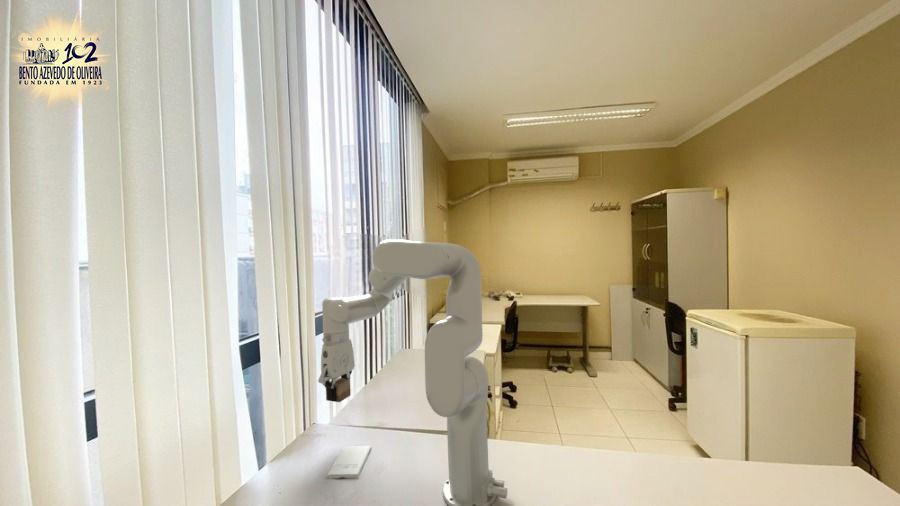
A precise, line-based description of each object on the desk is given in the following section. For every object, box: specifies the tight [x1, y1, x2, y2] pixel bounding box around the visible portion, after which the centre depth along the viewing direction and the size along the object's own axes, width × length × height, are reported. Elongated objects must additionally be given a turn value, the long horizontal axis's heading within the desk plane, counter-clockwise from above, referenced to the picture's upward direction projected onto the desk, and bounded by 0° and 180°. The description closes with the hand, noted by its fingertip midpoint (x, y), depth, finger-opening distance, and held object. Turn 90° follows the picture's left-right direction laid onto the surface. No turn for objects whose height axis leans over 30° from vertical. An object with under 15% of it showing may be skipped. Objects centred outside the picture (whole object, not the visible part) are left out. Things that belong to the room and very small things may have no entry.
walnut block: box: [325, 377, 352, 403], centre depth 97 cm, size 5×5×5 cm
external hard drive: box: [326, 445, 372, 479], centre depth 88 cm, size 2×8×12 cm
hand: (338, 396), depth 97 cm, fingers closed on walnut block, 5 cm apart
